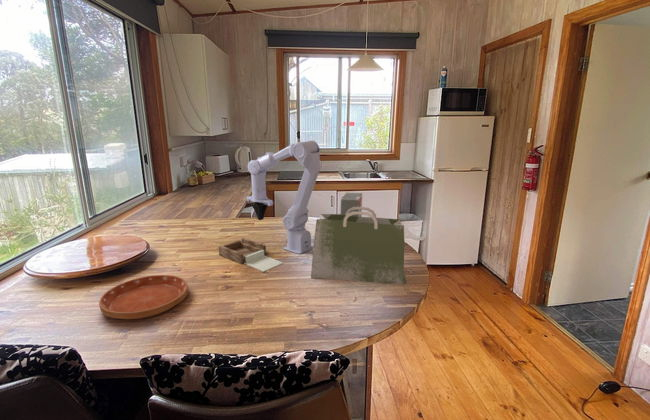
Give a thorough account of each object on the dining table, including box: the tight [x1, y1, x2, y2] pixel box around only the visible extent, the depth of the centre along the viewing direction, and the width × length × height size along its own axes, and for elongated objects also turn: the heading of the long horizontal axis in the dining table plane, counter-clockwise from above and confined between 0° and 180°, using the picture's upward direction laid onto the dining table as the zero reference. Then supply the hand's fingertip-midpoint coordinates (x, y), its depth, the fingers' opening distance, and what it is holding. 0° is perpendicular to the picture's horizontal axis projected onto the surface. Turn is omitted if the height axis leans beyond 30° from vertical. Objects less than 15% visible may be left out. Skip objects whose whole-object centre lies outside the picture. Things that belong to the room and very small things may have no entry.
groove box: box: [218, 237, 267, 265], centre depth 134 cm, size 14×12×4 cm
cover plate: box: [243, 250, 284, 273], centre depth 126 cm, size 11×9×3 cm
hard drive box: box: [340, 192, 363, 217], centre depth 147 cm, size 16×8×20 cm, turn 168°
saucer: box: [98, 274, 189, 320], centre depth 100 cm, size 23×23×4 cm
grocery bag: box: [310, 206, 408, 285], centre depth 115 cm, size 32×14×23 cm, turn 82°
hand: (260, 219), depth 147 cm, fingers closed
